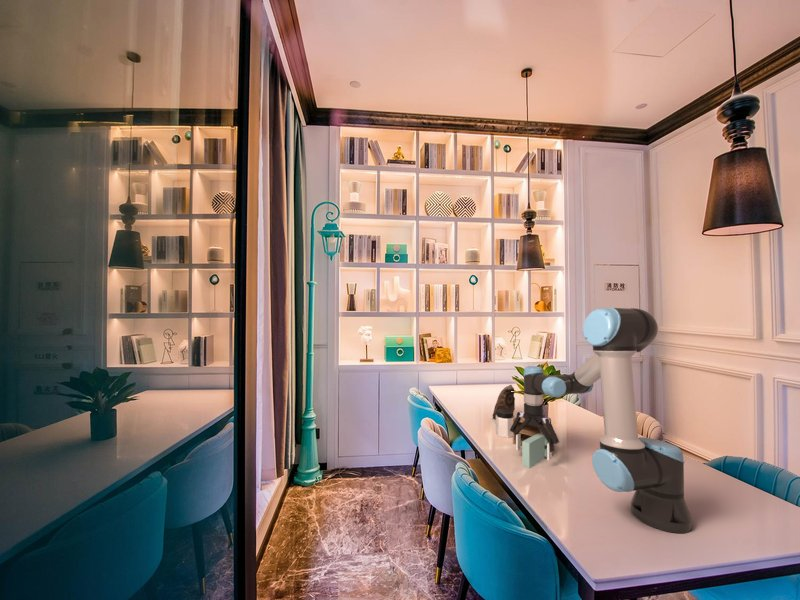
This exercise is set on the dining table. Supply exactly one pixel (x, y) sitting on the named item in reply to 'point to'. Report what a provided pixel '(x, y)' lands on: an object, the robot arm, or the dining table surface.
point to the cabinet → (527, 430)
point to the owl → (505, 400)
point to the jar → (504, 423)
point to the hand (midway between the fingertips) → (533, 454)
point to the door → (534, 450)
